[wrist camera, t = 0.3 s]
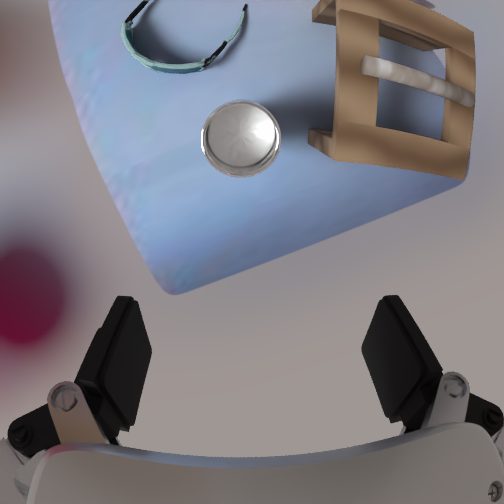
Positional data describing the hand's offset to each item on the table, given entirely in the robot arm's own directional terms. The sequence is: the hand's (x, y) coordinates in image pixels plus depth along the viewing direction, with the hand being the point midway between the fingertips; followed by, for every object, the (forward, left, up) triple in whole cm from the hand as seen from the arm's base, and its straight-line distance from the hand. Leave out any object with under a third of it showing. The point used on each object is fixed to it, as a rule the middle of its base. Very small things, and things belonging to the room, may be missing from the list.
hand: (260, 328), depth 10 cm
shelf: (-13, +17, -31) cm, 37 cm away
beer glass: (-5, -1, -31) cm, 31 cm away
